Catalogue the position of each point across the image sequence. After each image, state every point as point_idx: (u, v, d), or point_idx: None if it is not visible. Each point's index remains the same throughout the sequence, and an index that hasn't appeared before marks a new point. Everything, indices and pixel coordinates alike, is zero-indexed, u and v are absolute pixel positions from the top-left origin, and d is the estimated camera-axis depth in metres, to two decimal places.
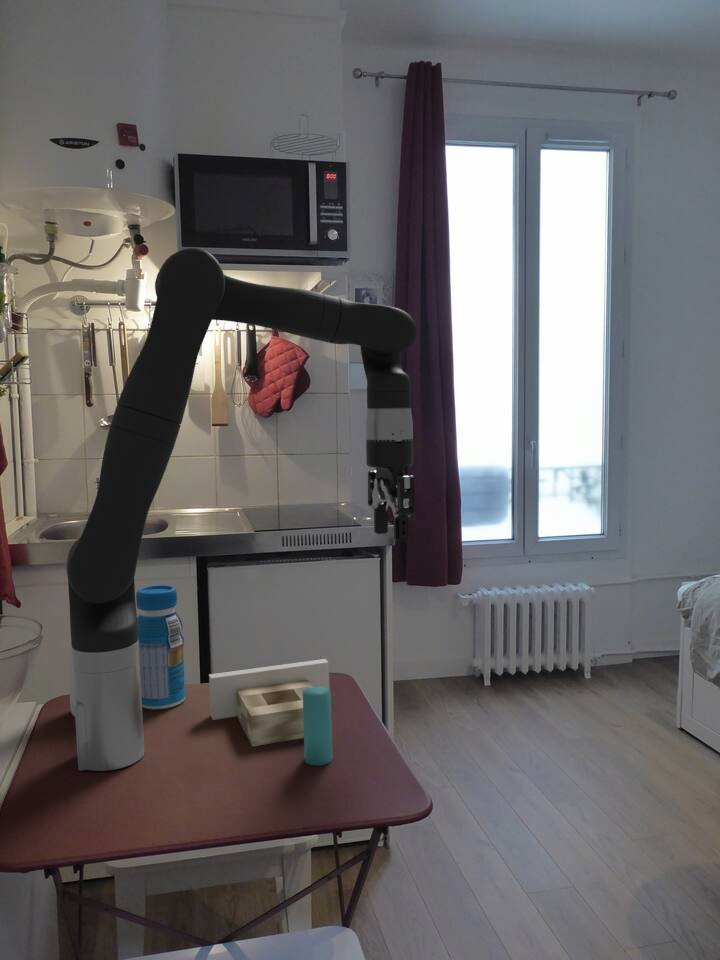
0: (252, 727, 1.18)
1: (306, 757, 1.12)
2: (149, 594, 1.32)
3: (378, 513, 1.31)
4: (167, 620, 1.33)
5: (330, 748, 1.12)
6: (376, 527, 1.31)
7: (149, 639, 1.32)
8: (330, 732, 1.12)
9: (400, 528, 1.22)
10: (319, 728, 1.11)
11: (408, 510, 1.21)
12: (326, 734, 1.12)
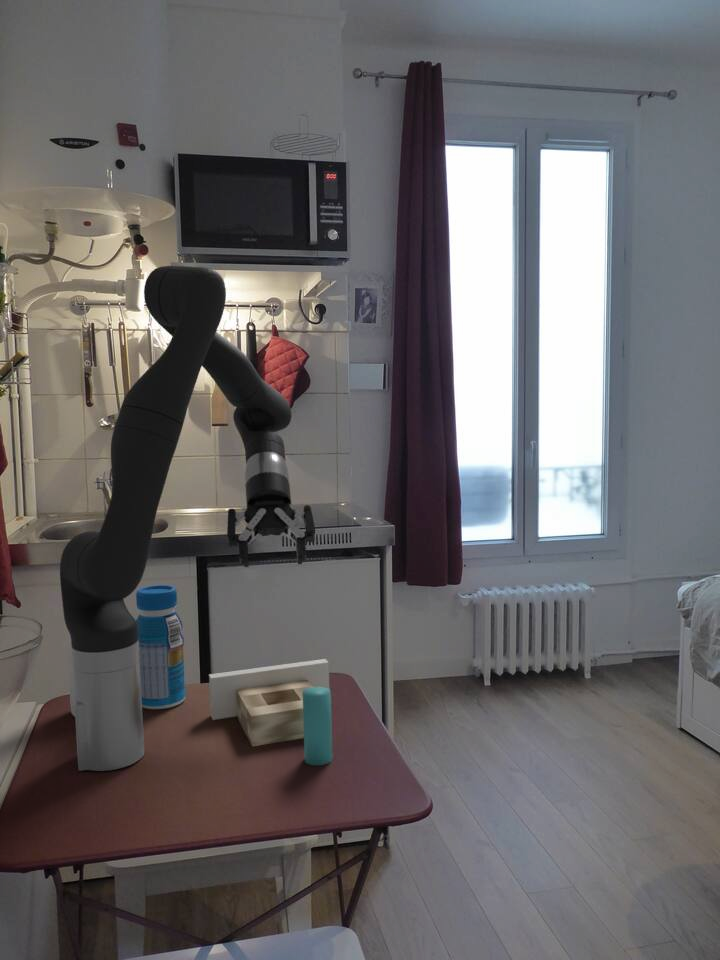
0: (252, 727, 1.18)
1: (306, 757, 1.12)
2: (149, 594, 1.32)
3: (247, 544, 1.27)
4: (167, 620, 1.33)
5: (330, 748, 1.12)
6: None
7: (149, 639, 1.32)
8: (330, 732, 1.12)
9: (305, 548, 1.27)
10: (319, 728, 1.11)
11: (314, 534, 1.30)
12: (326, 734, 1.12)
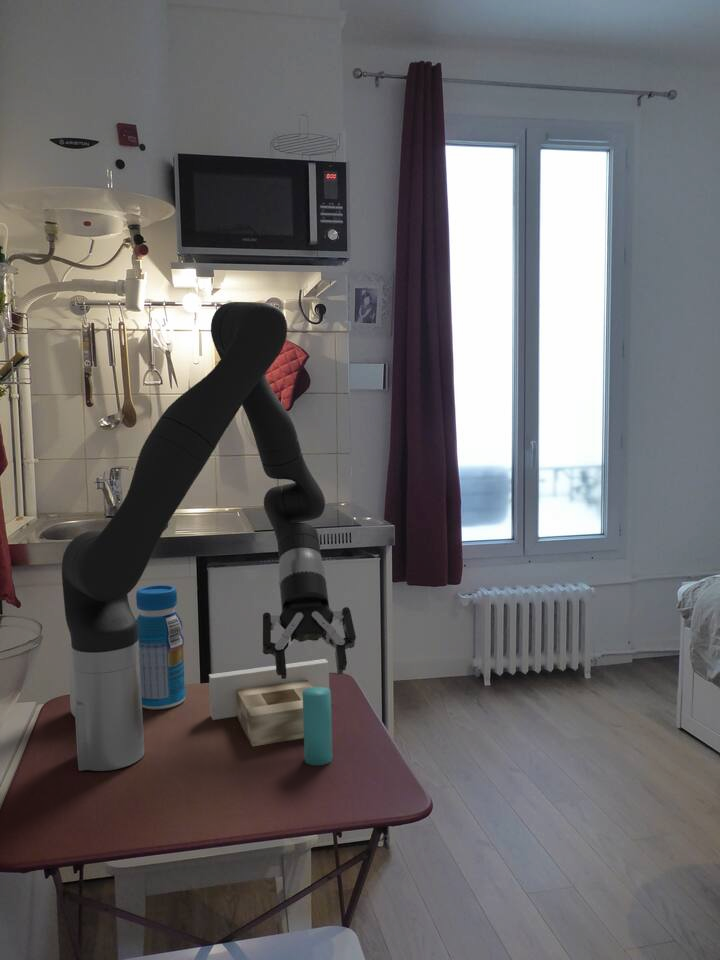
0: (252, 727, 1.18)
1: (306, 757, 1.12)
2: (149, 594, 1.32)
3: (284, 653, 1.19)
4: (167, 620, 1.33)
5: (330, 748, 1.12)
6: (285, 666, 1.17)
7: (149, 639, 1.32)
8: (330, 732, 1.12)
9: (345, 656, 1.20)
10: (319, 728, 1.11)
11: None
12: (326, 734, 1.12)
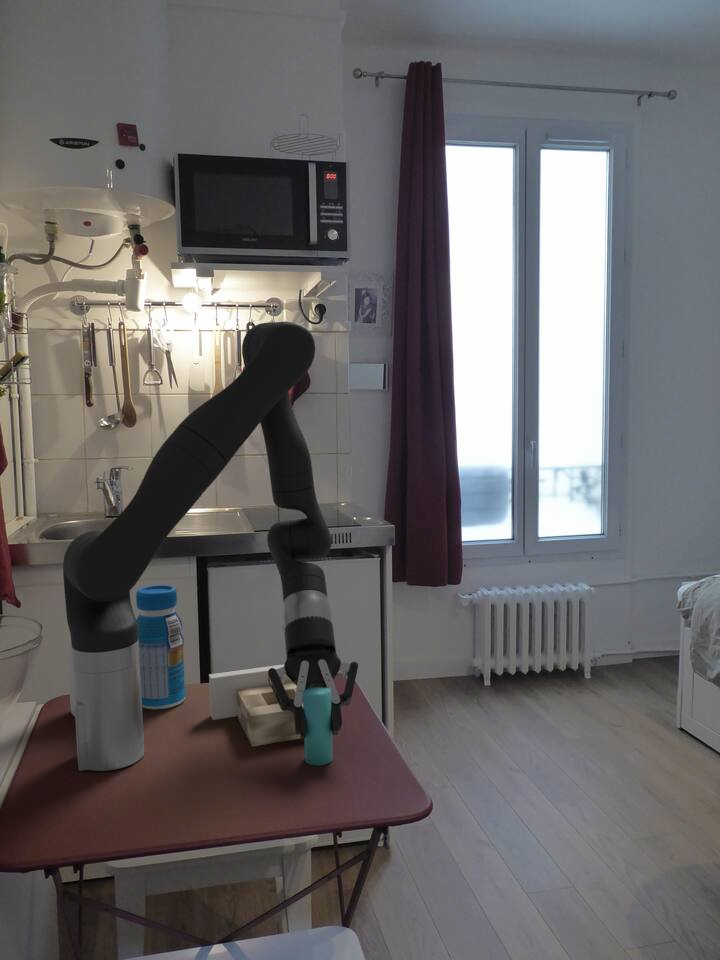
0: (252, 727, 1.18)
1: (306, 757, 1.12)
2: (149, 594, 1.32)
3: (303, 710, 1.13)
4: (167, 620, 1.33)
5: (330, 748, 1.12)
6: (305, 725, 1.11)
7: (149, 639, 1.32)
8: (330, 732, 1.12)
9: None
10: (319, 728, 1.11)
11: None
12: (326, 734, 1.12)
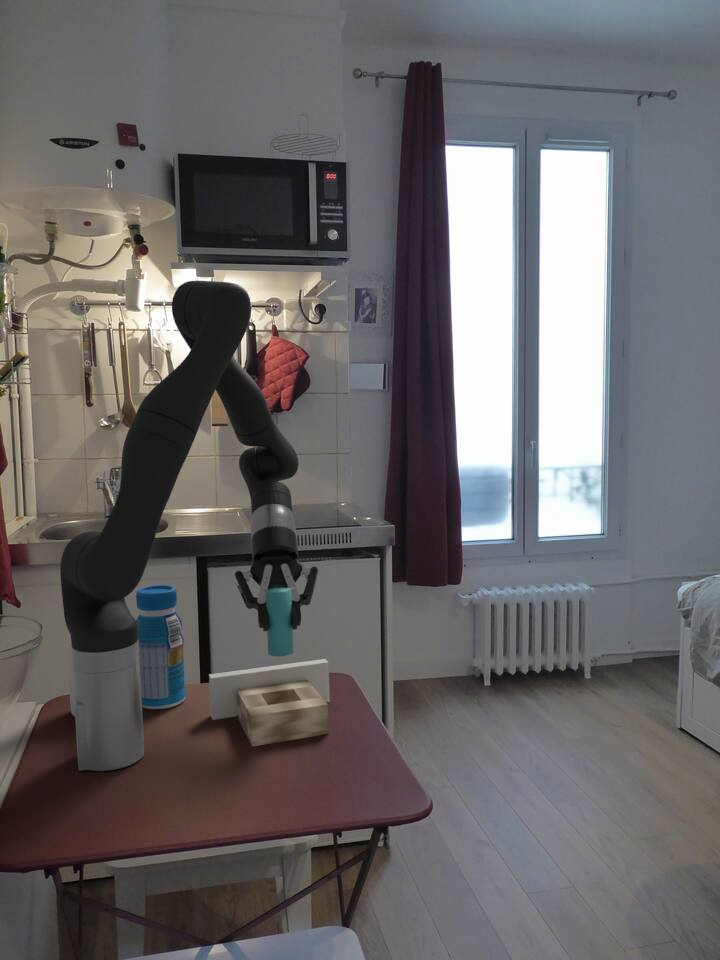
0: (252, 727, 1.18)
1: (269, 649, 1.23)
2: (149, 594, 1.32)
3: (266, 607, 1.23)
4: (167, 620, 1.33)
5: (291, 641, 1.23)
6: None
7: (149, 639, 1.32)
8: (291, 627, 1.23)
9: (300, 612, 1.23)
10: (280, 622, 1.22)
11: (310, 597, 1.26)
12: (286, 627, 1.22)
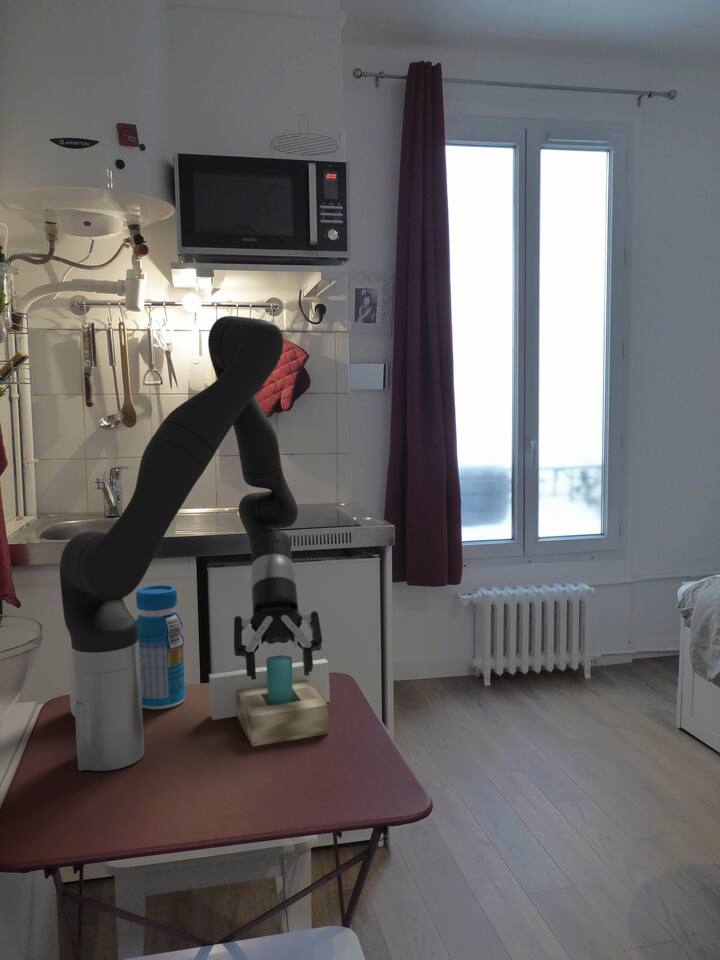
0: (252, 728, 1.18)
1: None
2: (149, 594, 1.32)
3: (254, 655, 1.25)
4: (167, 620, 1.33)
5: None
6: None
7: (149, 639, 1.32)
8: (291, 695, 1.25)
9: None
10: (280, 690, 1.24)
11: None
12: (287, 696, 1.24)
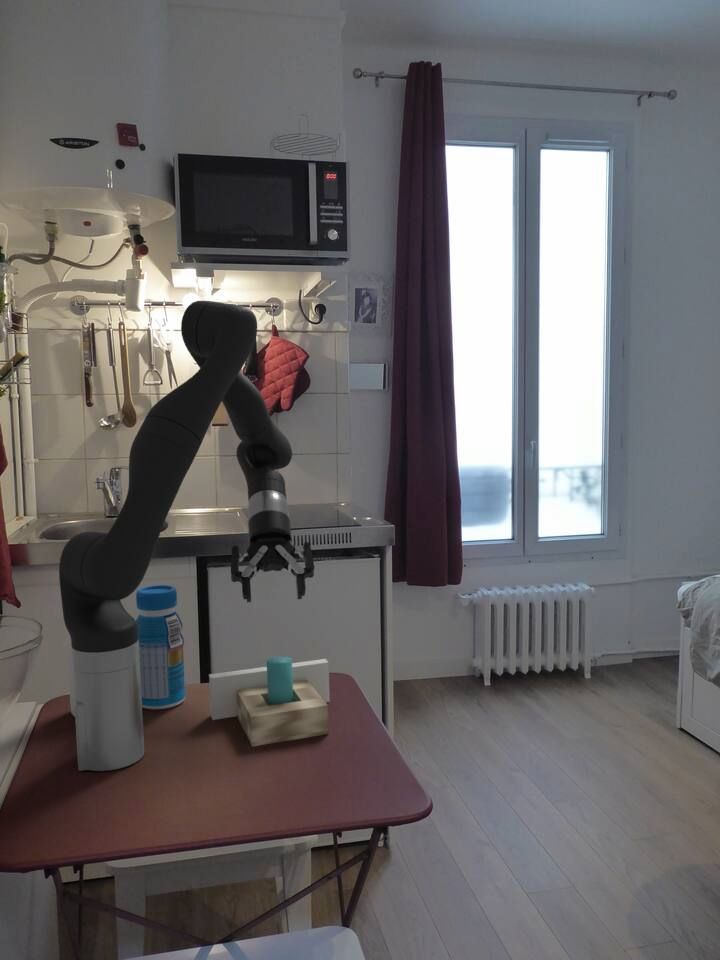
0: (252, 728, 1.18)
1: None
2: (149, 594, 1.32)
3: (250, 580, 1.34)
4: (167, 620, 1.33)
5: None
6: (250, 591, 1.32)
7: (149, 639, 1.32)
8: (291, 697, 1.25)
9: None
10: (281, 693, 1.24)
11: (313, 570, 1.37)
12: (287, 698, 1.24)
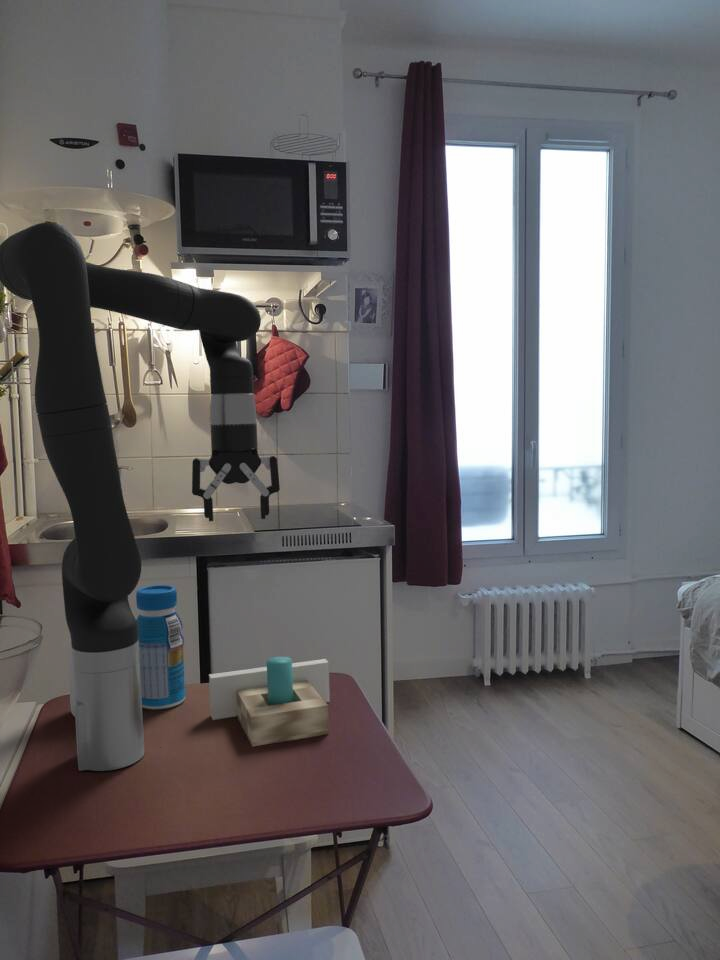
0: (252, 728, 1.18)
1: None
2: (149, 594, 1.32)
3: (212, 500, 1.30)
4: (167, 620, 1.33)
5: None
6: (212, 514, 1.29)
7: (149, 639, 1.32)
8: (291, 697, 1.25)
9: None
10: (281, 693, 1.23)
11: None
12: (287, 698, 1.24)
